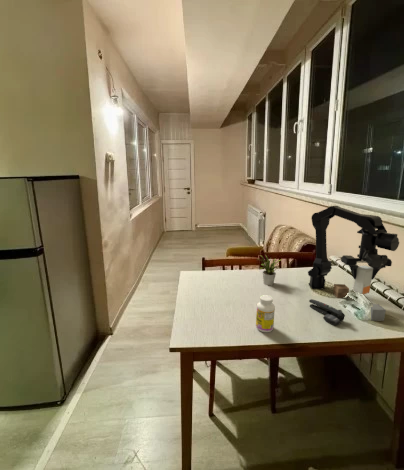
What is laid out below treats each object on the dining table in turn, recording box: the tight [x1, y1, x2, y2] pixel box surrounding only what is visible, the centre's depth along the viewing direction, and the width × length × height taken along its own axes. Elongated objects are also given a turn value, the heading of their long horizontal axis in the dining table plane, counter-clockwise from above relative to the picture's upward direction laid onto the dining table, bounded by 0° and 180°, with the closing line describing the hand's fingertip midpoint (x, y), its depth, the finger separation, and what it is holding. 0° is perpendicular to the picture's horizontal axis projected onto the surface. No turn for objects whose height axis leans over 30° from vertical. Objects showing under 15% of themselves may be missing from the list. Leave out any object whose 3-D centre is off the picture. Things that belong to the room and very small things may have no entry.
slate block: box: [370, 303, 387, 322], centre depth 110 cm, size 5×5×5 cm
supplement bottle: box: [255, 294, 276, 333], centre depth 101 cm, size 7×7×13 cm
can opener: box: [308, 298, 346, 326], centre depth 111 cm, size 18×7×6 cm, turn 19°
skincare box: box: [352, 265, 373, 296], centre depth 117 cm, size 6×4×12 cm
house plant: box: [256, 255, 283, 286], centre depth 143 cm, size 14×14×16 cm
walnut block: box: [332, 283, 350, 299], centre depth 129 cm, size 5×5×5 cm
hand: (363, 279), depth 117 cm, fingers closed on skincare box, 7 cm apart
